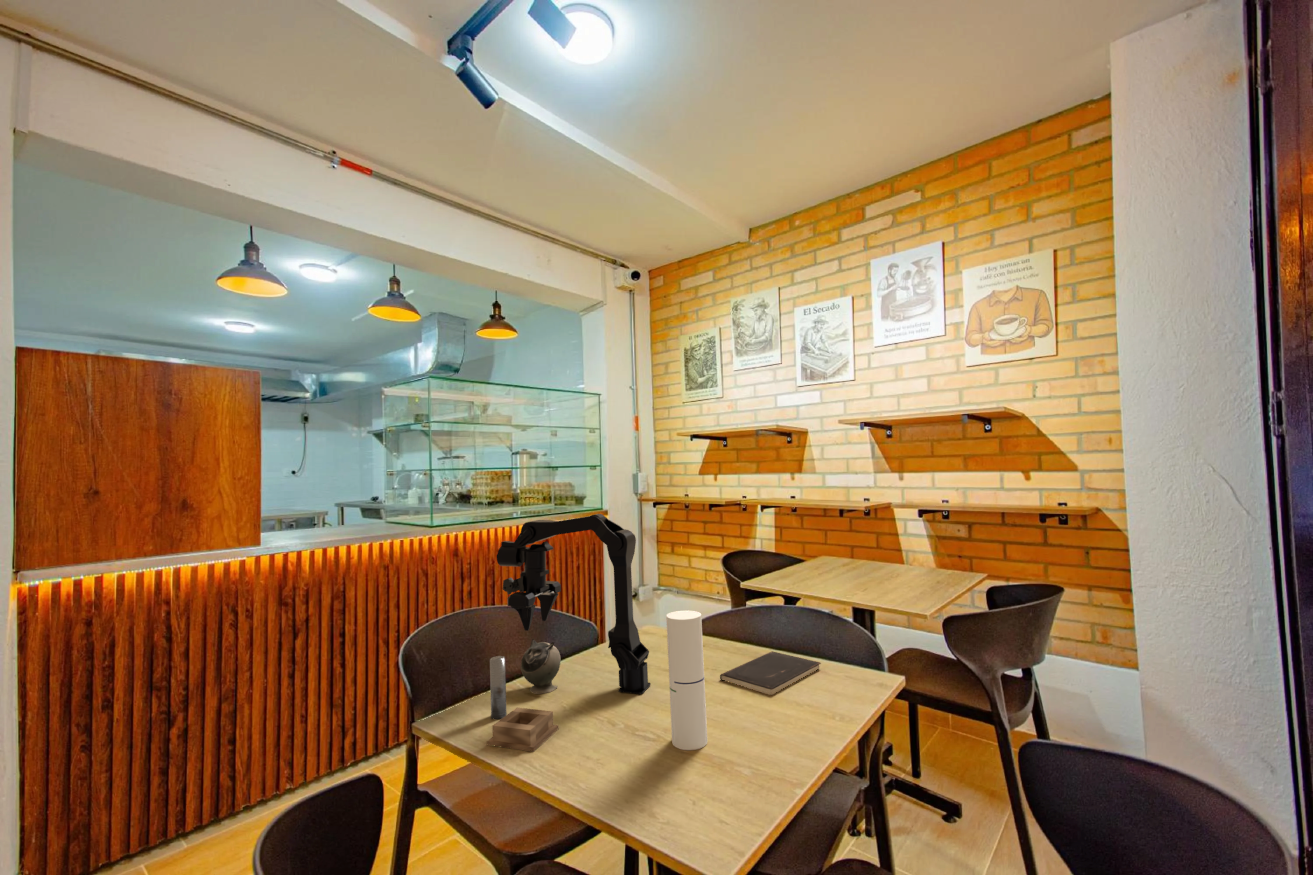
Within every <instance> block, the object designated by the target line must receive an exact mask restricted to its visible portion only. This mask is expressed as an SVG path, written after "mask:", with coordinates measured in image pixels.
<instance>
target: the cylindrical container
mask: <svg viewBox="0 0 1313 875" xmlns="http://www.w3.org/2000/svg"><path fill="white" fill-rule="evenodd" d="M702 622H703V621H702V613H701V612H699V611H696V610H677V611H671V612H668V613H666V637H667V657H668V658H667V659H668V662H667V664H668V679H669V680H668V681H669V685H668V686H669V705H670V724H671V725H670V726H671V727H670V729H671V742H672V743H671V744H672V745H673V747H675V748H677V749H680V750H683V751H696V750H700V749H702V748H703V747H705V746H707V745H708V727H707V726H708V724H707V706H706V703H707V701H706V684H705V664H704V661H705V660H704V645H703V644H704V643H703V625H702V624H703V623H702Z"/></svg>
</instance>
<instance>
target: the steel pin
mask: <svg viewBox="0 0 1313 875" xmlns="http://www.w3.org/2000/svg"><path fill="white" fill-rule="evenodd" d="M489 675H490V676H489V679H490V681H489V682H490V686H489V687H490V714H491V715H490V718H491V720H501V719H502V718H503V717H505V716H506V715H507V714H508V713H507V684H506V683H507V680H506V678H507V677H506V676H507V675H506V656H504V655H497V656H492V657H491V658H489Z"/></svg>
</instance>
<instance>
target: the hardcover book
mask: <svg viewBox="0 0 1313 875" xmlns="http://www.w3.org/2000/svg"><path fill="white" fill-rule="evenodd" d="M821 664H822V663H821V662H819V661H815V660H811V659H808V658H807V659H806V658H802V657H799V656H794V655H790V654H786V653H785V654H784V653H780V652H777V651H770V652H767V653H765V654H763V655H760V656H758V657H756V658H754V659H751V660H749V661H747V662H745V663H742V664H741V665H738V666H736V667H734V668H731V669H729V670H727V671H725V672H723V673H721V674H720V676H719V680H720V679H722V680H725V681H724V682H726V681H729V682H732V683H735V684H734V685H736V684H737V686H739V685H741V686H740V687H742V686H744V687H743V688H746V687H747V688H746V689H749V690H752V689H753V691H756V692H760V693H762V694H765V695H769V696H773V695H775V694H777V693H778V692H780V691H782V690H783V688H784V689H786V688H787V687H786V686H788V685H789V686H791V685H793V684H794V683H793V682H795V683H796V681H797V680H799V679H800V680H802V679H803V677H804V678H806V677H807V676H806V675H808V676H809V675H811V674H813V673H815V672H816V670H817V669H819V670H820V665H821ZM814 671H815V672H814ZM817 671H818V670H817ZM812 672H813V673H812ZM810 673H811V674H810ZM805 676H806V677H805ZM801 678H802V679H801ZM722 680H721V681H722ZM800 680H799V681H800ZM729 682H728V683H729ZM797 682H798V681H797ZM732 683H731V684H732ZM792 683H793V684H792ZM790 684H791V685H790ZM789 686H788V687H789ZM785 687H786V688H785ZM781 689H782V690H781ZM776 692H777V693H776Z"/></svg>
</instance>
